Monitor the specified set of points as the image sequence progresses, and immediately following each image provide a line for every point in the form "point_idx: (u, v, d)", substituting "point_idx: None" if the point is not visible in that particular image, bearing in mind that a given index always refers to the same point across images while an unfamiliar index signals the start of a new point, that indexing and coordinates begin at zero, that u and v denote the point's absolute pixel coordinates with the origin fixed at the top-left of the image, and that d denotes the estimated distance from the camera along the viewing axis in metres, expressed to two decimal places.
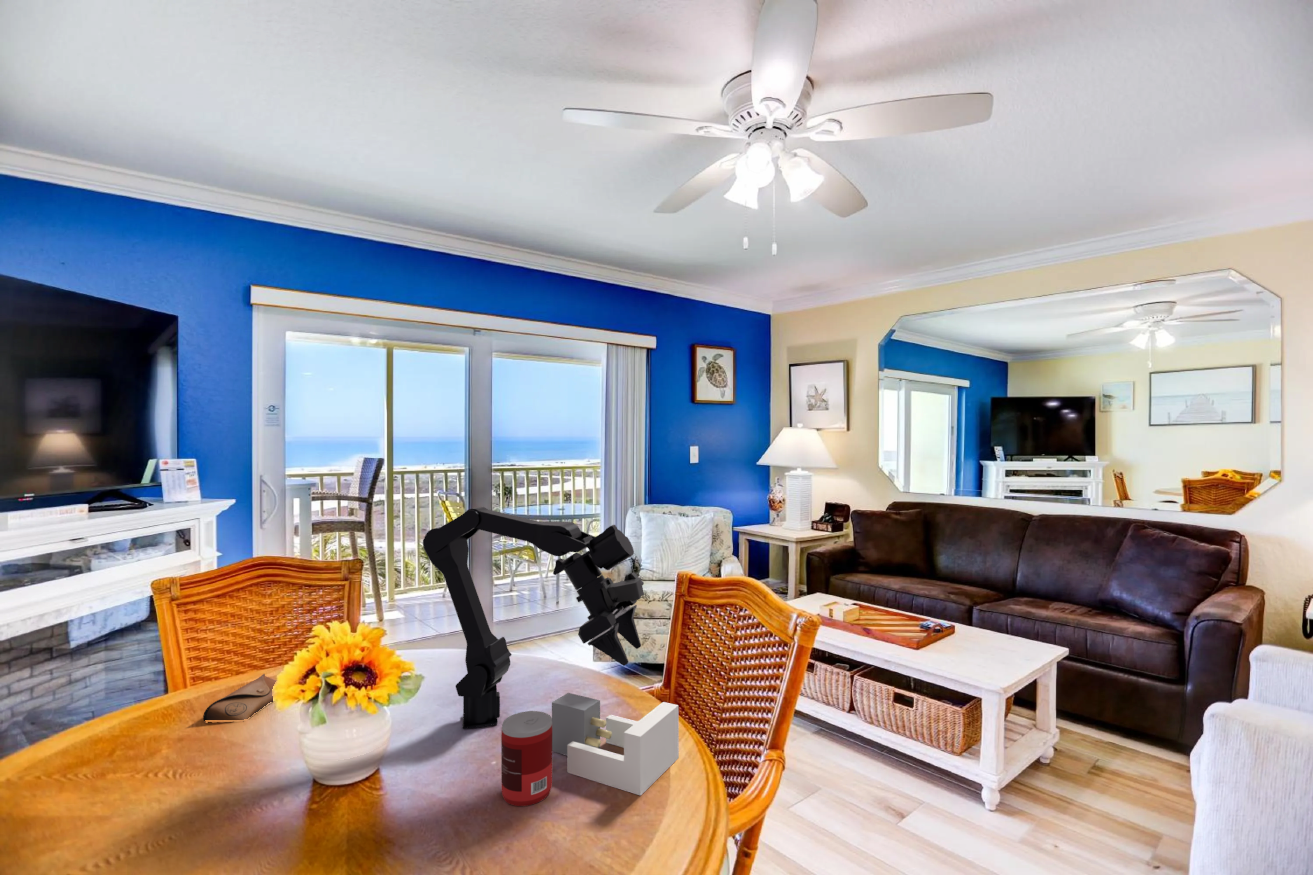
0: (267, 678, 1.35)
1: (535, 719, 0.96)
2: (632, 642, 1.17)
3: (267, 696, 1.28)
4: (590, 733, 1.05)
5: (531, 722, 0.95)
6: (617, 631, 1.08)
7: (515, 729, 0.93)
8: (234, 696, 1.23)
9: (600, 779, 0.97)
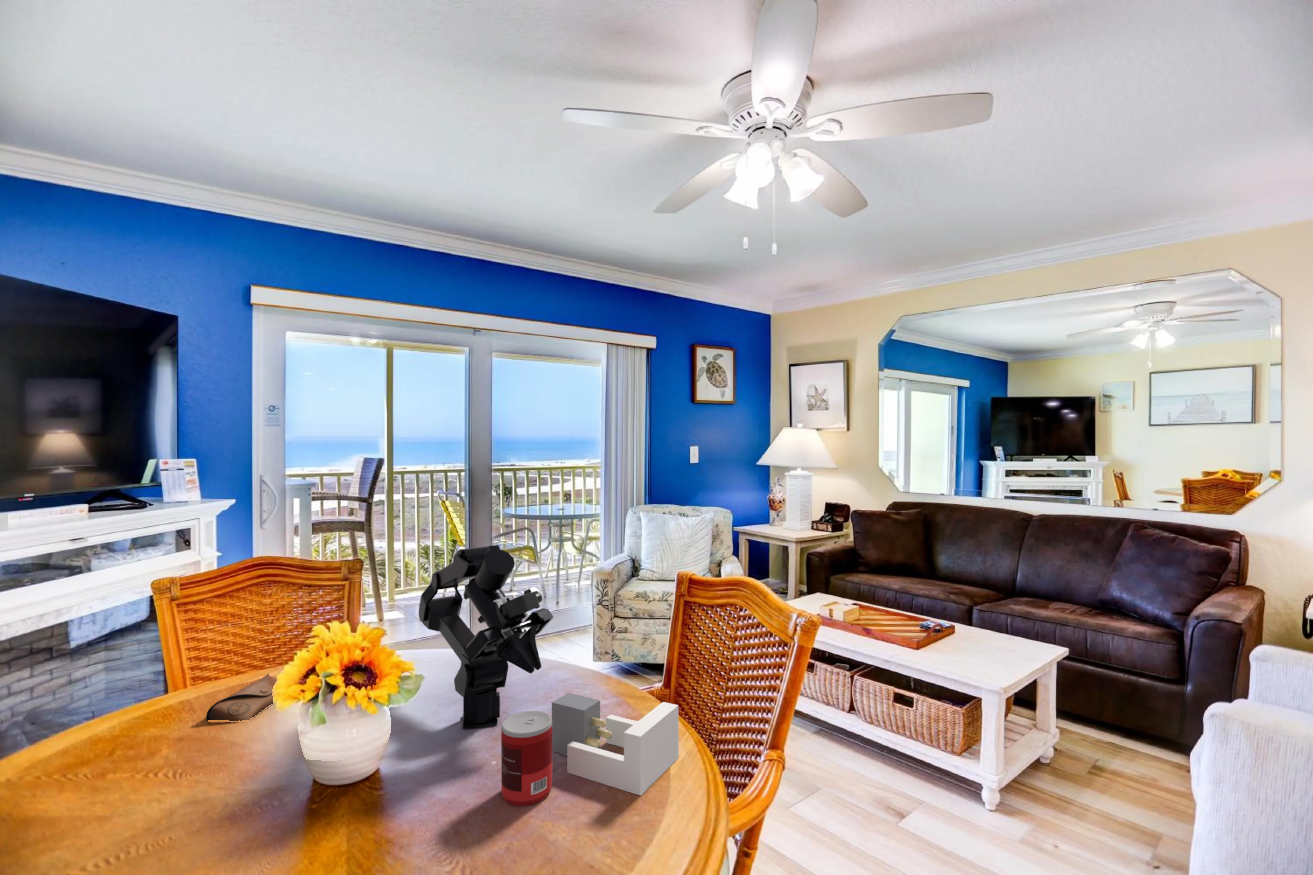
0: (271, 678, 1.35)
1: (535, 719, 0.96)
2: (533, 663, 1.13)
3: (270, 696, 1.27)
4: (590, 733, 1.05)
5: (531, 722, 0.95)
6: (519, 640, 1.12)
7: (515, 729, 0.93)
8: (237, 696, 1.23)
9: (600, 779, 0.97)
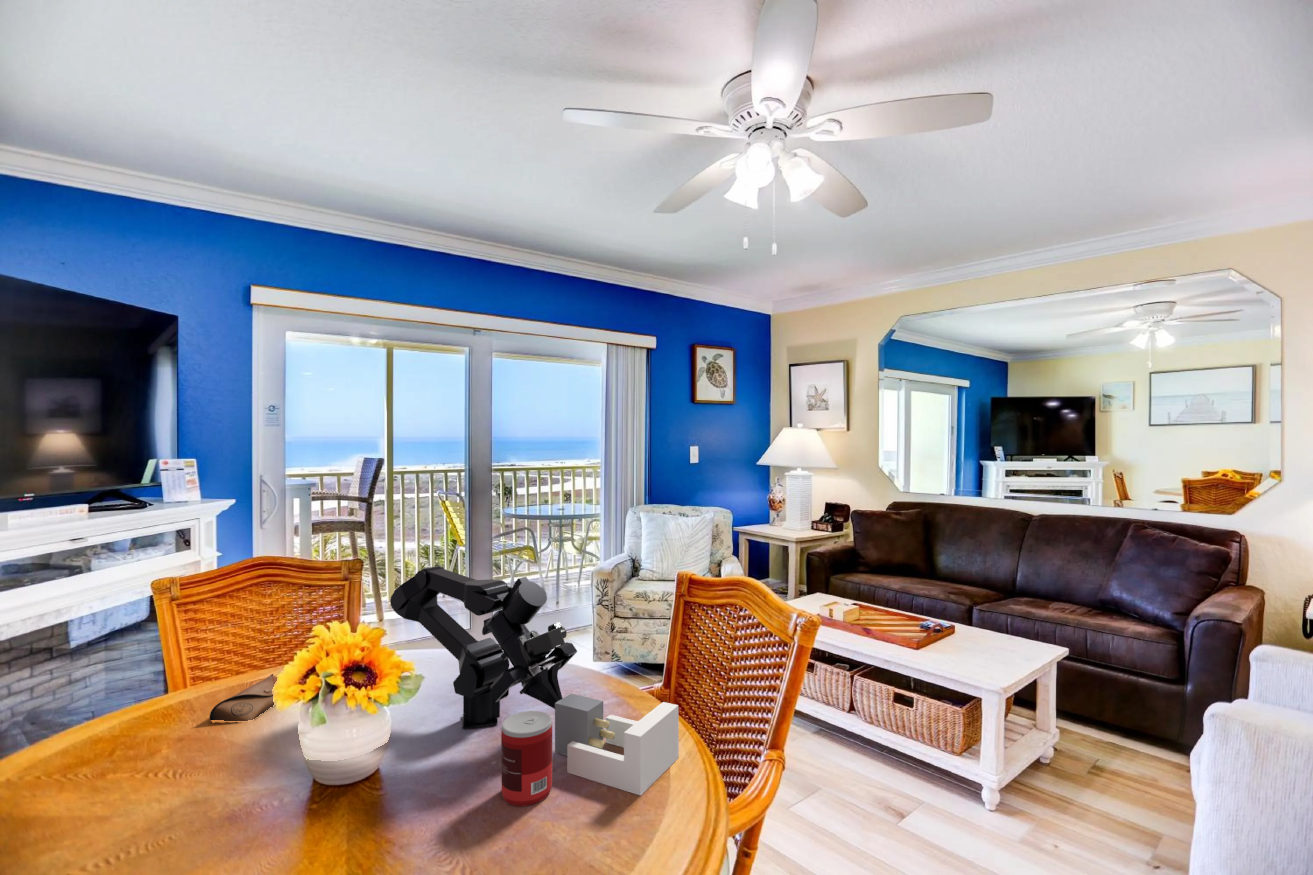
0: (275, 678, 1.34)
1: (535, 719, 0.96)
2: None
3: None
4: (594, 733, 1.05)
5: (531, 722, 0.95)
6: (547, 677, 1.10)
7: (515, 729, 0.93)
8: (241, 696, 1.23)
9: (600, 779, 0.97)
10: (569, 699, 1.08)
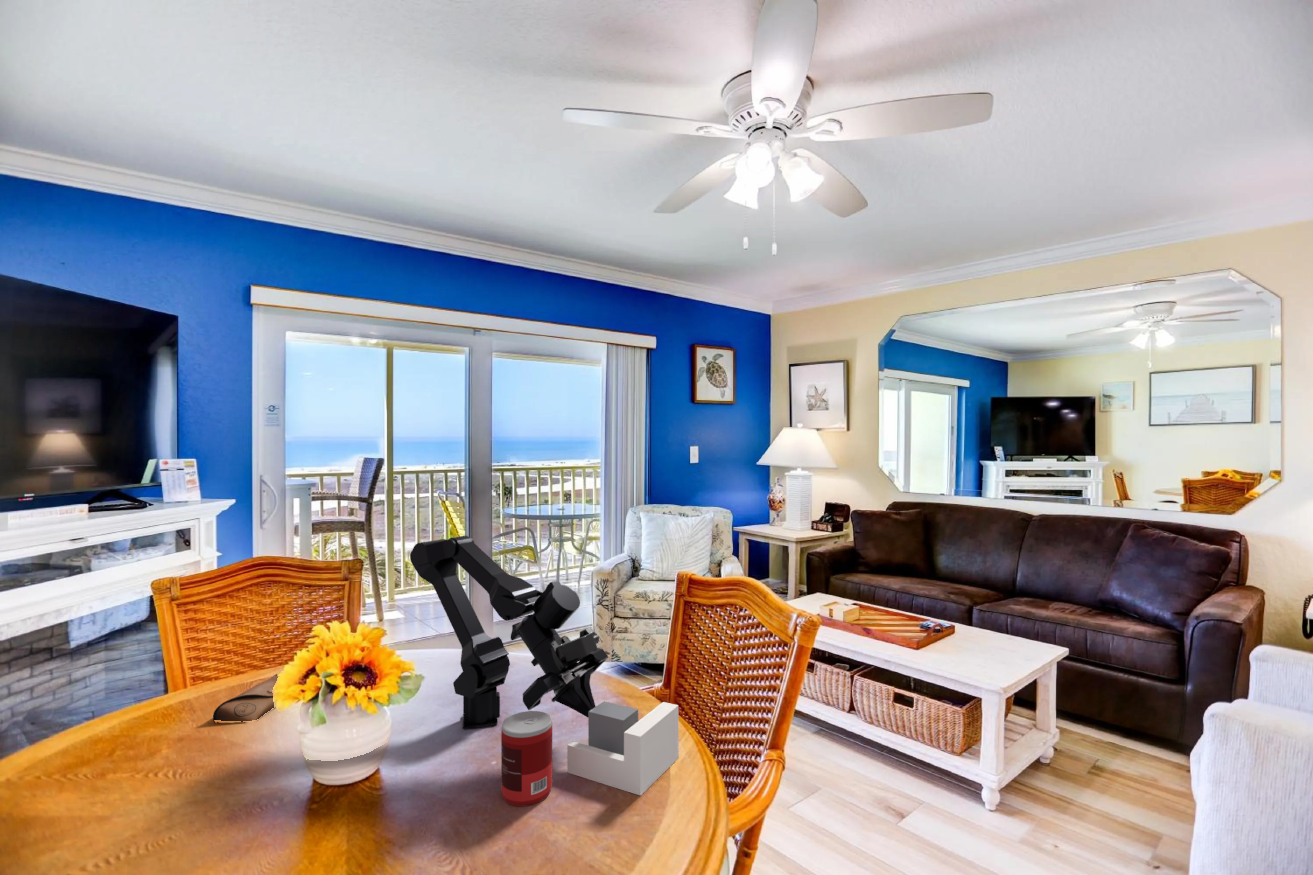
0: None
1: (535, 719, 0.96)
2: None
3: None
4: None
5: (531, 722, 0.95)
6: (580, 684, 1.06)
7: (515, 729, 0.93)
8: (244, 696, 1.23)
9: (600, 779, 0.97)
10: (603, 707, 1.05)
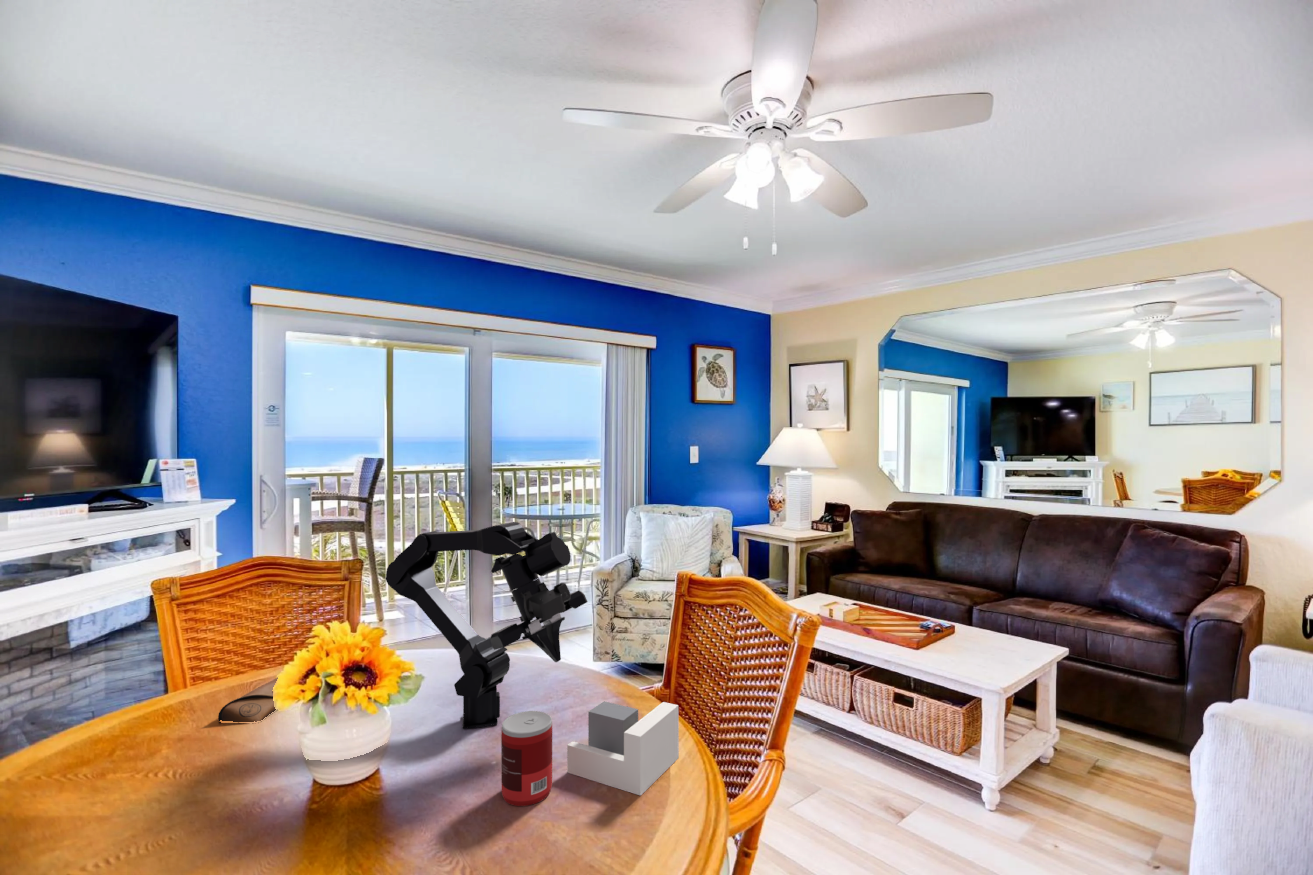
0: None
1: (535, 719, 0.96)
2: None
3: None
4: None
5: (531, 722, 0.95)
6: (546, 633, 1.14)
7: (515, 729, 0.93)
8: (249, 697, 1.23)
9: (600, 779, 0.97)
10: (603, 707, 1.05)
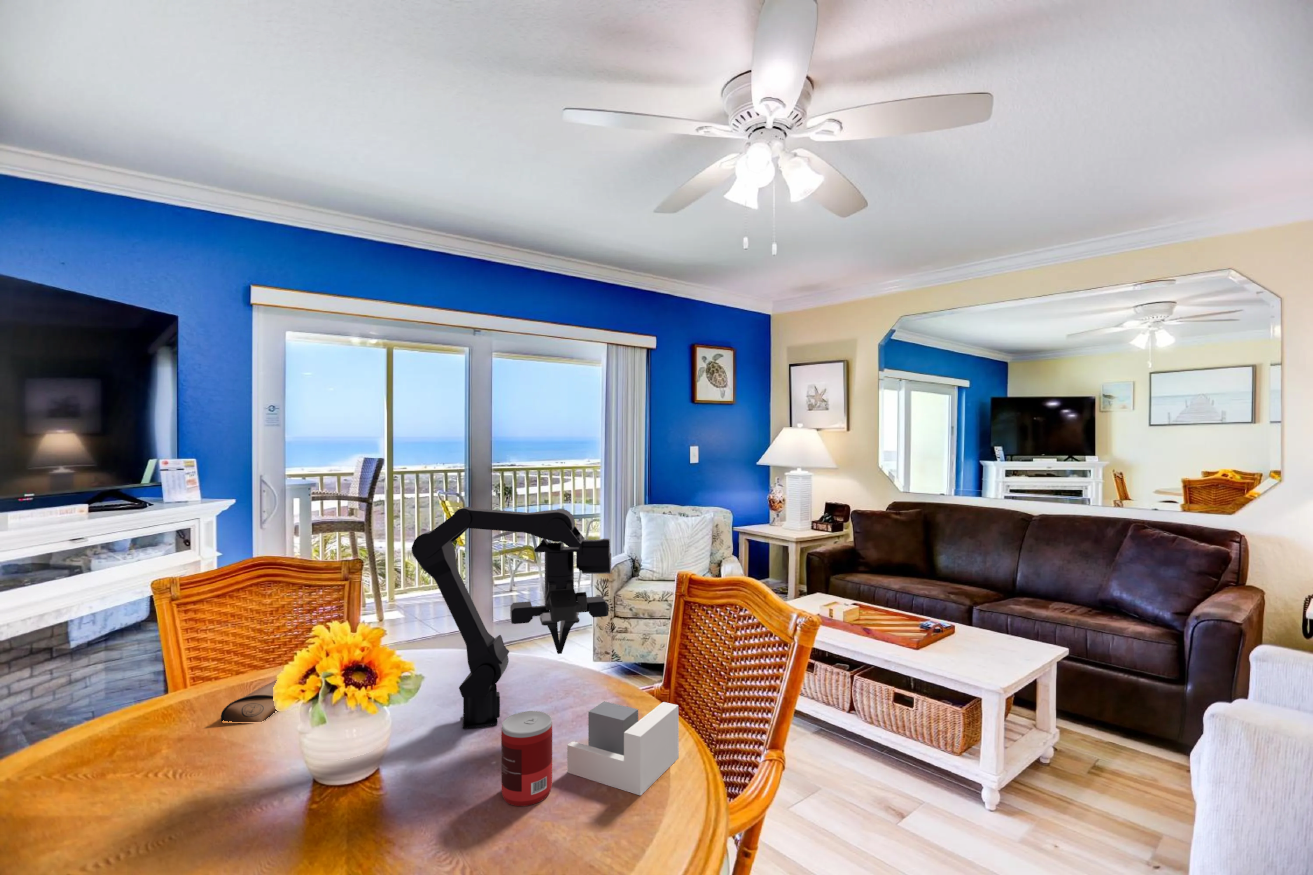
0: None
1: (535, 719, 0.96)
2: None
3: None
4: None
5: (531, 722, 0.95)
6: (557, 627, 1.18)
7: (515, 729, 0.93)
8: (252, 697, 1.23)
9: (600, 779, 0.97)
10: (603, 707, 1.05)
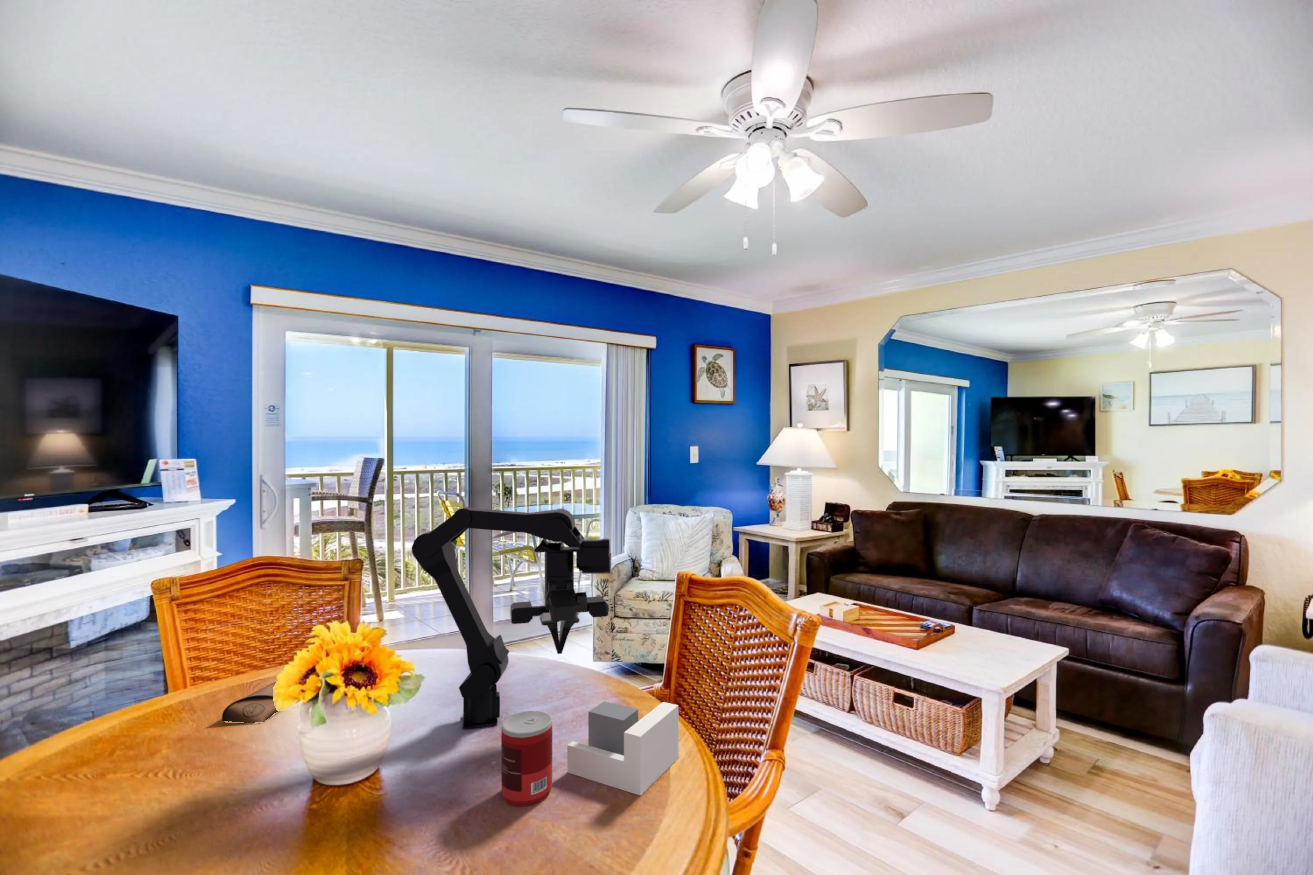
0: None
1: (535, 719, 0.96)
2: None
3: None
4: None
5: (531, 722, 0.95)
6: (557, 627, 1.18)
7: (515, 729, 0.93)
8: (253, 697, 1.23)
9: (600, 779, 0.97)
10: (603, 707, 1.05)
